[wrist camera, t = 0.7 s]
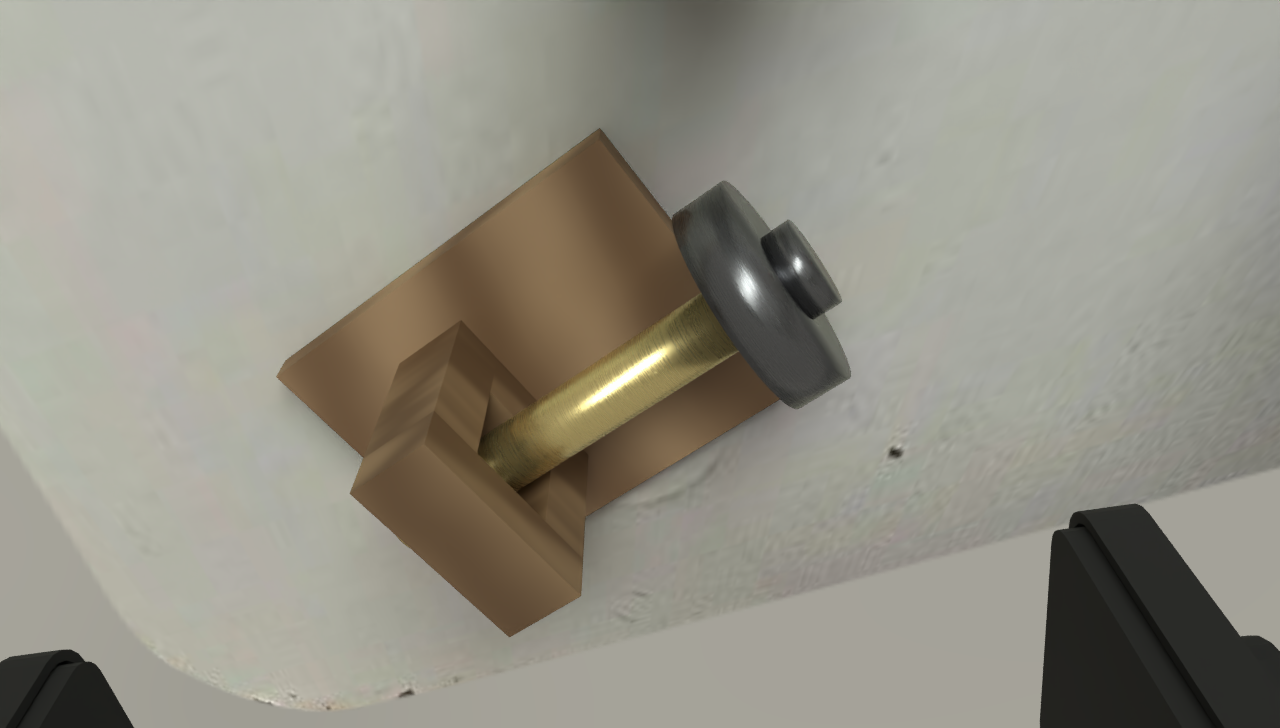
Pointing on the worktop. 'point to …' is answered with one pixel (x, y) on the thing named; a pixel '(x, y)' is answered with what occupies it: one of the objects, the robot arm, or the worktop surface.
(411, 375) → the eye post
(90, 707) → the robot arm
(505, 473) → the brass peg with disc
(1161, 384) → the worktop surface
